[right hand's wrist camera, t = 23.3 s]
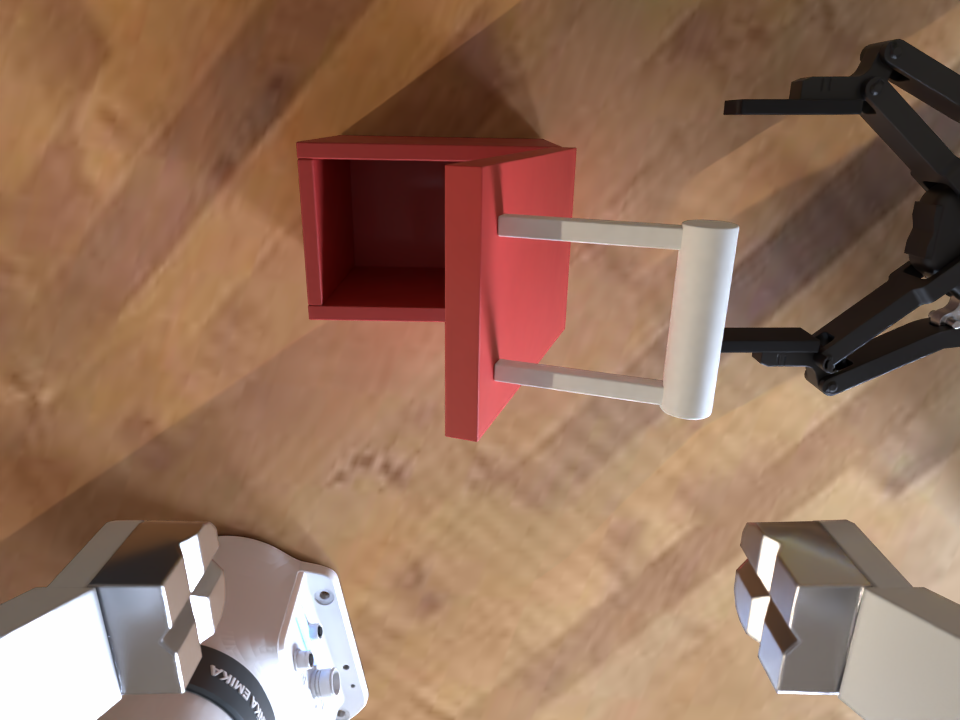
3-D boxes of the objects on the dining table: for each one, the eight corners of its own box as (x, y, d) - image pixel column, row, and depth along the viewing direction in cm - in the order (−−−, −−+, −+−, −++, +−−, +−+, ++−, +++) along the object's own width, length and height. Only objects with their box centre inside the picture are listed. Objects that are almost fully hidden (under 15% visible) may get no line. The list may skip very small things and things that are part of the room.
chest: (346, 274, 48) (308, 319, 38) (338, 135, 45) (295, 141, 34) (536, 278, 48) (552, 323, 38) (543, 138, 45) (562, 146, 35)
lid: (444, 436, 24) (703, 482, 22) (444, 164, 21) (749, 177, 18) (542, 326, 37) (712, 346, 35) (551, 146, 34) (740, 153, 31)
